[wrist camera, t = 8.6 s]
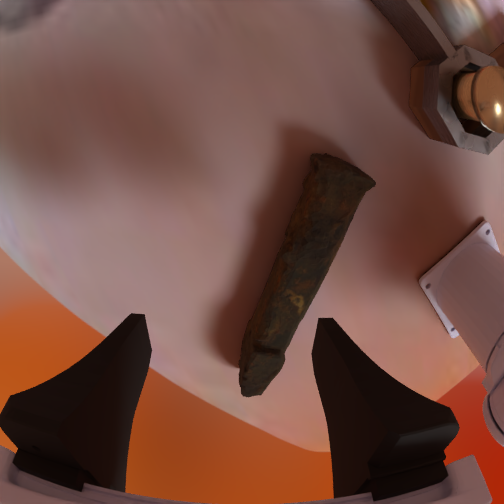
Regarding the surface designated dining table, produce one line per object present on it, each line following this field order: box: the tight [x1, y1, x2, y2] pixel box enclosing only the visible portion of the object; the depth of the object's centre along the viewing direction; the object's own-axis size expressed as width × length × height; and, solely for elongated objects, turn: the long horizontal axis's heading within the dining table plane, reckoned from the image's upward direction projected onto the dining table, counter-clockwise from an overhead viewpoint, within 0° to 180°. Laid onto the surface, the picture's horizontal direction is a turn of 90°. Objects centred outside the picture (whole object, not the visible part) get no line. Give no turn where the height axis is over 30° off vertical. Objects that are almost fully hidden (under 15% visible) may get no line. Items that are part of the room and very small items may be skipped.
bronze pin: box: [451, 66, 504, 134], centre depth 14 cm, size 4×4×6 cm
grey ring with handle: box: [371, 0, 504, 155], centre depth 14 cm, size 14×6×4 cm, turn 43°
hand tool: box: [239, 153, 376, 397], centre depth 21 cm, size 19×4×5 cm, turn 159°
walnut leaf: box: [409, 43, 504, 142], centre depth 14 cm, size 6×14×4 cm, turn 133°
